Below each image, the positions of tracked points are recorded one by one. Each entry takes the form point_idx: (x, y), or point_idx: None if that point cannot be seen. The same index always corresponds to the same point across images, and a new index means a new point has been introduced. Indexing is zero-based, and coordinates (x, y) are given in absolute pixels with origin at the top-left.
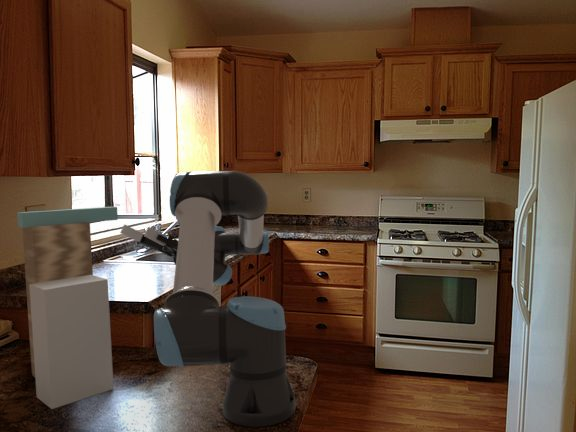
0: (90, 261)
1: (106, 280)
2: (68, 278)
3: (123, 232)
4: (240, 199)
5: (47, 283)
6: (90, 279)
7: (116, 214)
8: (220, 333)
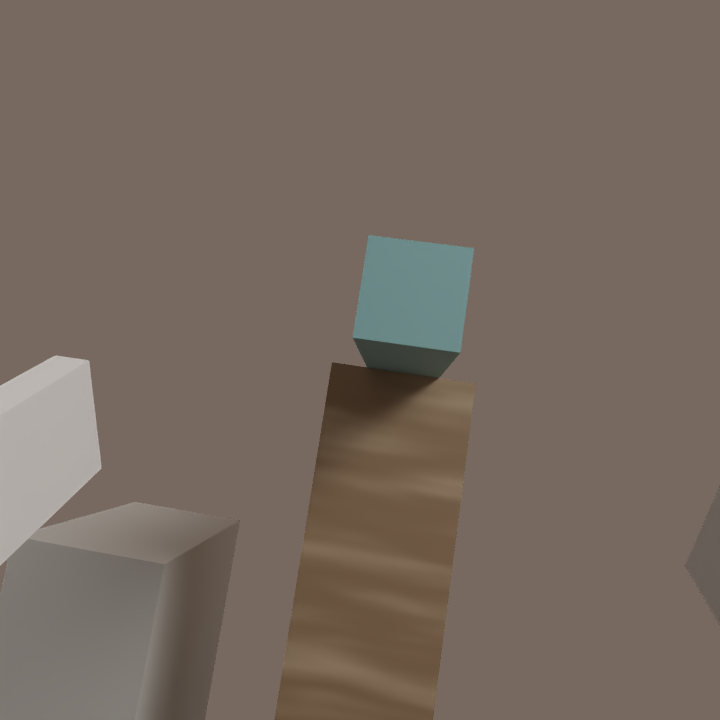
0: (300, 571)
1: None
2: (195, 541)
3: (704, 568)
4: None
5: (197, 521)
6: (91, 536)
7: (359, 295)
8: None
